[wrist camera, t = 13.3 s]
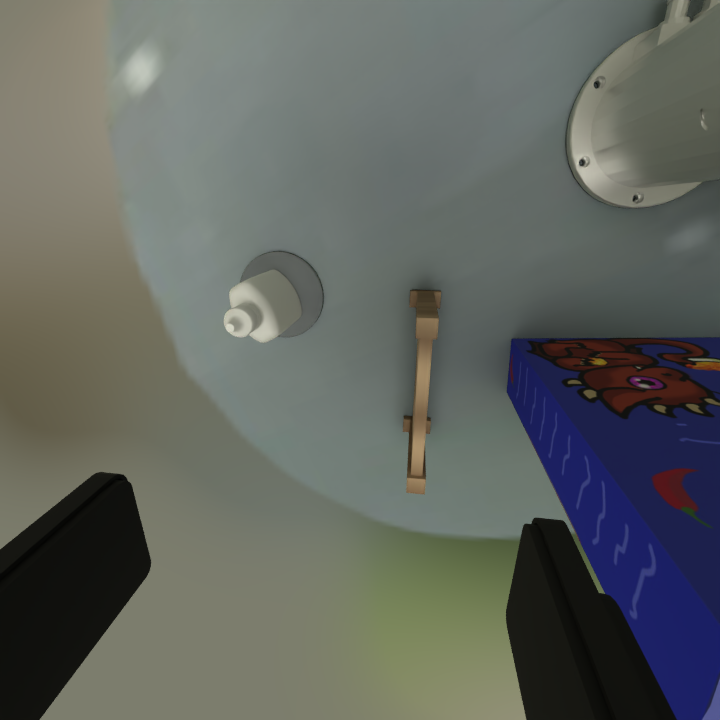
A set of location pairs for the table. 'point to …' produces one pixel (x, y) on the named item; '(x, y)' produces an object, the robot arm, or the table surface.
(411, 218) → the table surface
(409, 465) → the brown piece
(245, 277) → the coaster
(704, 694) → the cereal box
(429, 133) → the table surface
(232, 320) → the eye dropper bottle
